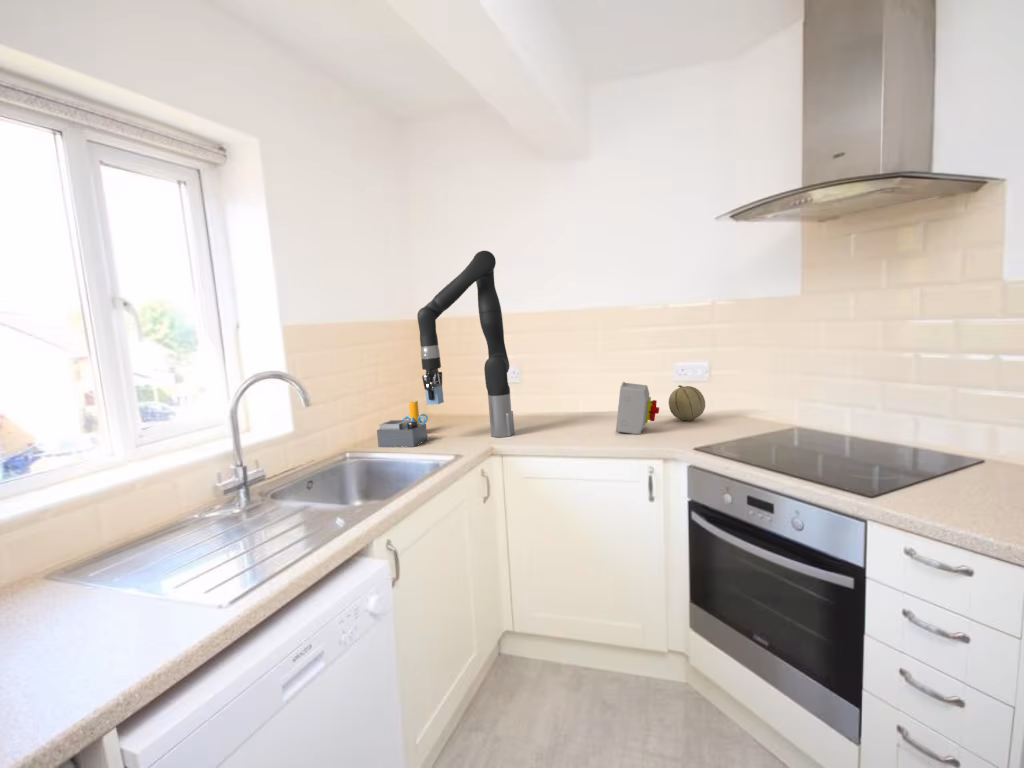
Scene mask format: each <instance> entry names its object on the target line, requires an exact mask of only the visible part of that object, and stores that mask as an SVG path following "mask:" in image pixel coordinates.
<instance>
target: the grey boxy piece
mask: <svg viewBox="0 0 1024 768" xmlns="http://www.w3.org/2000/svg"><path fill="white" fill-rule="evenodd" d="M376 436H377V444H378V448H396V447H395V446H400V447H399V448H402V447H401V446H404V447H403V448H415V447H416V445H417V446H419V445H421V444H422V443H421V442H423V441H425V440H427V441H428V431H427V423H425V424H417V421H410V420H409V419H407V420H405V419H404V420H402V419H390V420H388V421H385V422H383V423H380V424H379V428H378V429H376ZM425 442H426V441H425ZM420 443H421V444H420ZM423 443H424V442H423ZM418 444H419V445H418ZM391 446H392V447H391ZM405 446H407V447H405ZM408 446H410V447H408ZM414 446H415V447H414Z"/></svg>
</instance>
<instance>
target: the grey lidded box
mask: <svg viewBox="0 0 1024 768" xmlns="http://www.w3.org/2000/svg"><path fill="white" fill-rule="evenodd" d="M426 386H427V385H426ZM433 387H434V400H429V396H428V391H427V390H425V389H424V390H425V392H424V393H425V401H426V405H429V406H430V405H431V406H433V405H440V404H443V403H444V402H445V400H444V391H443V382H442V383H435V385H433Z"/></svg>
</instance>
